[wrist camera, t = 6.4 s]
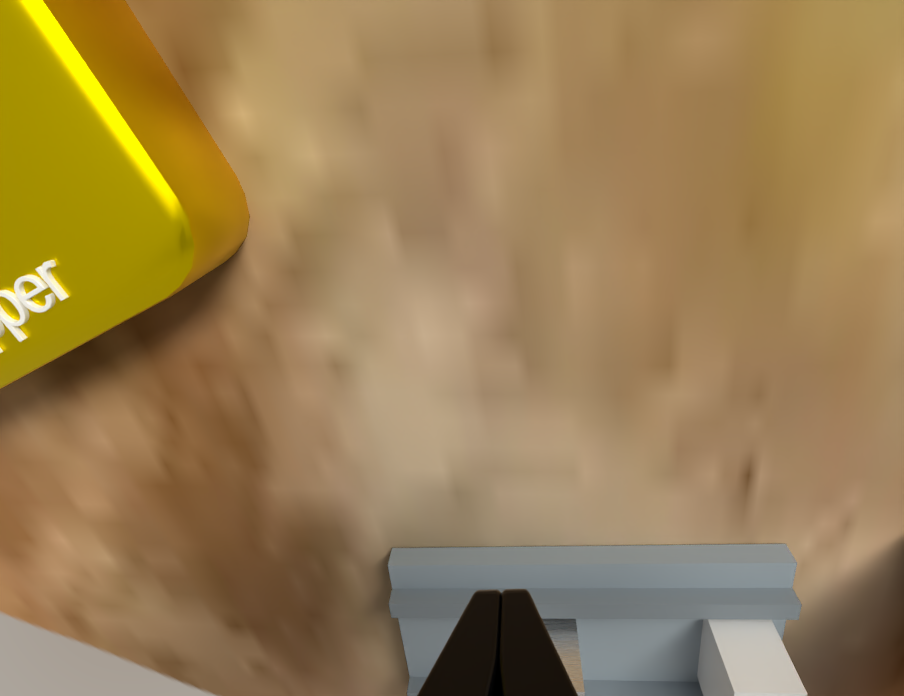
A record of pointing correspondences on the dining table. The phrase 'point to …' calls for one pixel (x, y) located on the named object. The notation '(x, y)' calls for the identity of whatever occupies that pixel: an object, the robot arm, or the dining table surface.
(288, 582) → the dining table surface
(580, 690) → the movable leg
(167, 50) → the dining table surface
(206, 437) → the dining table surface
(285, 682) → the dining table surface
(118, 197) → the element tile
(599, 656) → the board
